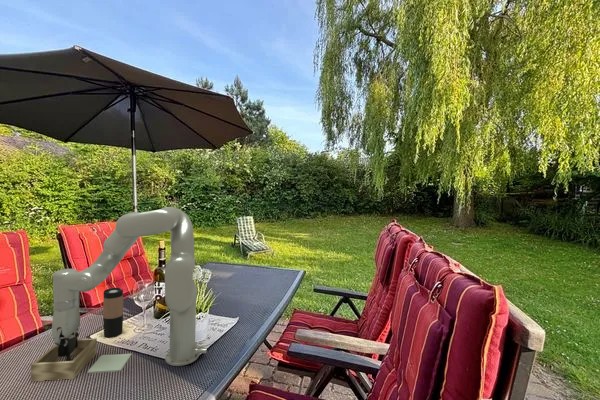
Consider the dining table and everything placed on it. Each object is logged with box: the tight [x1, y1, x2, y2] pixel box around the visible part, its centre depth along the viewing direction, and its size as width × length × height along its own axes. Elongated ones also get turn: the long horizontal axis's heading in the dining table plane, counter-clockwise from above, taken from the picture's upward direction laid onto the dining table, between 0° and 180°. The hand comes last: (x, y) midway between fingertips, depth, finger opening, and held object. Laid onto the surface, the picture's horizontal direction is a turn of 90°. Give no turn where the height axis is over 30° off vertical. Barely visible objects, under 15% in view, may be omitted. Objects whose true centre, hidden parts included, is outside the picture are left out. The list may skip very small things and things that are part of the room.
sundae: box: [61, 331, 80, 361], centre depth 116 cm, size 7×7×15 cm
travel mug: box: [102, 287, 124, 339], centre depth 141 cm, size 8×8×20 cm
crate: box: [30, 337, 98, 382], centre depth 116 cm, size 13×17×6 cm
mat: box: [87, 353, 133, 374], centre depth 119 cm, size 11×11×1 cm
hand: (68, 351), depth 116 cm, fingers closed on sundae, 5 cm apart
